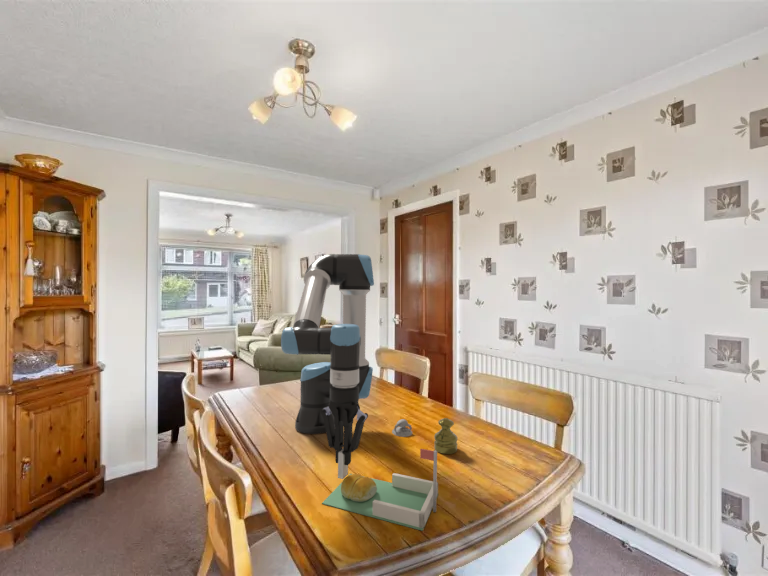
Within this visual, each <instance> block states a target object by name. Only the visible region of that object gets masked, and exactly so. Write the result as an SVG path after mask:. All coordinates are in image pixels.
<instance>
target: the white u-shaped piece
mask: <svg viewBox="0 0 768 576" xmlns="http://www.w3.org/2000/svg"><path fill="white" fill-rule="evenodd" d="M419 450H420V453H419V456H420V457H419V458H420V459H422V460H427V461H432V462H433V464H432V465H433V466H432V467H433V474H432V475H433V476H432V477H433V479H432V480H428V479H423V478H418V477H414V476H410V475H405V474H400V473H395V472H393V473H392V475H391V476H392V478H391V483H392V486H393V487H398V488H402V489H407V490H411V491H415V492H420V493H424V494H428V496H427V498H426V500H425V502H424V504H423V506H422V509H421V511H419V510H414V509H410V508H406V507H402V506H398V505H394V504H390V503H386V502H382V501H378V500H374V501H373V514H372V515H374V516H378V517H382V518H386V519H389V520H393V521H397V522H401V523H404V524H408V525H412V526H416V527H419V528H424V529H425V527H426V524H427V522H428V520H427V519H429V518H430V515H431V513H432V512H433V513H436V512H437V499H436V498H438V496H439V482H438V476H437V475H438V452H437V451H436V450H435V449H434V450H431V449H424V448H420V449H419ZM437 495H438V496H437ZM432 507H433V508H432ZM430 512H431V513H430ZM429 514H430V515H429ZM426 521H427V522H426ZM424 526H425V527H424Z"/></svg>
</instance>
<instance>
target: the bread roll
mask: <svg viewBox="0 0 768 576" xmlns="http://www.w3.org/2000/svg"><path fill="white" fill-rule="evenodd" d="M350 474H351V475H349V474H348V475H349V476H348V475H347V476H346V477H345V478H344V479H342V481H341V483H342V484H341V483H340V484H341V493H342V495H343V496H344V497H345V498H347V499H351V500H352V501H356V502H362V501H367V500H369V499H370V498H372V497H373V496H374V495H375V493H376V491H377V487H376V483H375V482H374V481H373V480H372V479H371V478H372V477H369V476H364V477H363V475H361V474H360V473H350Z"/></svg>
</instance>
